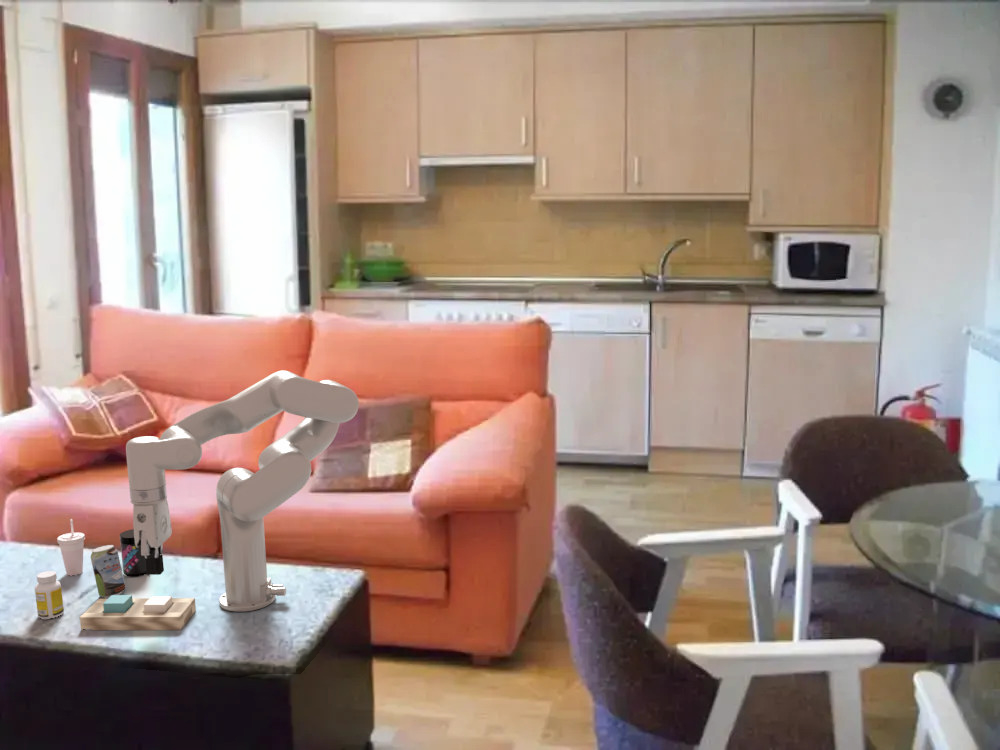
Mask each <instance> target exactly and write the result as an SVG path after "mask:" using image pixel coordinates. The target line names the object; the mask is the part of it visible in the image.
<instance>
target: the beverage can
mask: <svg viewBox="0 0 1000 750" xmlns="http://www.w3.org/2000/svg"><path fill="white" fill-rule="evenodd" d="M90 561H91V566H92V570H93V574H94V579H95V583H96V588H97V593H98V596H100V597H102V598H103V599H108V598H109V597H110V596H111V595H122V594H123V592H124V591H125V590H126V583H125V579H124V573H123V568H122V564H121V560H120V556H119V551H118V549H117V548H116V547H115V546H114V545H113V544H106V545H101V546H98V547H95V548H93V549H92V550H91V555H90Z"/></svg>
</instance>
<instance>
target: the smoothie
mask: <svg viewBox="0 0 1000 750" xmlns="http://www.w3.org/2000/svg"><path fill="white" fill-rule="evenodd" d="M69 521H70V522H69V523H70V531H71V532H67V533H64V534H63V533H62V535H61V534H60V535H59V536H58V537H57V538H56V539H57V544H59V548H60V549H59V550H60V552H61V556H62V557H61V558H62V560H63V565H64V568H65V572H66V575H67V576H68V575H70V576H71V577H73V576H72V575H75V576H78V575H77V574H79V575H81V574H82V573H83V572H84V571H83V570H84V569H83V568H84V545H85V544H84V543H85V542H84V541H85V540H86V535H85V533H83V532H80V531H79V532H75V531H74V520H73V518H71V519H69ZM80 573H81V574H80Z"/></svg>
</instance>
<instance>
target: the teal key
mask: <svg viewBox="0 0 1000 750" xmlns="http://www.w3.org/2000/svg"><path fill="white" fill-rule="evenodd" d="M132 598H133V595H132V594H119V595H111V596H110V597H109V598H106V599H107V600H106V601H105V602H104V603H103V607H104V613H126V612H127V611H128V610H129V609H130V608H131V607H132V605H133V600H132Z"/></svg>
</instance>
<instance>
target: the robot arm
mask: <svg viewBox="0 0 1000 750" xmlns="http://www.w3.org/2000/svg"><path fill="white" fill-rule="evenodd" d="M359 401H360V400H359V398H358V396H357V394H356V392H355V391H354V390H352V389H351V388H350V387H347V386H345V385H343V384H341V383H339V382H337V381H336V380H335V381H334V380H332V379H323V380H320V381H316V380H314V379H313V380H312V379H308V378H306V377H302V376H300V375H298V374H296V373H294V372H292V371H288V370H279V371H278V370H277V371H276V372H273V373H272V374H269V375H268V376H266V377H265V378H263V379H261V380H259V381H258V382H255V383H254V384H252V385H251V386H249V387H247V388H246V389H243V390H242V391H240V392H239V393H237V394H236V395H233V396H231V397H230V398H228V399H226V400H223V401H220V402H217V403H215V404H213V405H210V406H208V407H205V408H202V409H200V410H198V411H196V412H193V413H191V414H190V415H187V416H186V417H184V418H183V419H181V420H180V421H178V422H176V423H174V424H173V425H171V426H169V427H168V428H166V429H165V430H164V432H163V433H162V434H161V435H160V437H157V436H151V435H149V436H148V435H146V436H145V435H144V436H138V437H134V438H132V439H129V440H127V442H126V444H125V452H126V453H125V455H126V464H127V465H126V467H127V476H128V487H129V488H128V490H129V496H130V498H129V499H130V503H131V504H132V506H133V507H132V509H133V511H132V513H133V514H132V517H133V519H132V520H133V521H132V522H133V529H134V539H135V545H136V547H137V548H141V555H142V556H145V558H146V568H147V574H146V575H148V576H150V575H151V576H155V575H156V576H158V575H162V573H164V572H165V569H164V556H163V553H164V549H163V548H164V547H163V546H164V543H165V542H166V541H167V540H169V538H170V537H171V535H172V534H173V530H172V522H171V515H170V514H171V513H170V508H169V504H168V503H169V501H168V493H167V483H166V481H167V480H166V471H167V470H177V471H180V470H181V471H182V470H187V469H191V468H193V467H195V466H196V465H198V464H199V462H200V461H201V460H202V456H203V448H202V446H203V445H204V444H206V443H207V442H210V441H211V440H213V439H217V438H219V437H222V436H226V435H228V436H229V435H238V434H245V433H248V432H250V431H251V430H253V429H255V428H256V427H259V426H260V425H261V424H263V423H265V422H267V421H268V420H270V419H272V418H273V417H275V416H277V415H279V414H280V413H282V412H285V413H287V414H291V415H294V416H299V417H302V418H303V417H304V418H303V419H302V421H301V422H299V423H298V424H297V425H296V426H295V427H294V428H292V429H291V430H289V431H288V432H287V433H285V434H283V435H282V436H281V437H279V438H278V439H276V441H275V440H274V442H273V443H271V444H269V445H268V446H267V447H265V448H264V449H263V450H262V451H261V453H260V454H259V456H258V460H257V461H258V462H257V463H258V468H259V470H258V471H255V473H254V472H253V471H251V470H249V469H248V468H243V467H233V468H230V469H228V470H226V471H225V472H224V473H222V474H221V476H220V477H219V479H218V481H217V484H216V489H215V494H216V503H217V510H218V514H219V520H220V521H219V523H220V532H221V534H220V535H221V545H222V549H221V550H222V558H223V560H222V561H223V572H224V573H223V575H224V587H225V589H224V590H225V593H223V594H222V595H221V596H220V597H219V599H218V600H219V601H218V602H219V606H220V607H221V608H222V609H223V610H226V611H229V612H237V613H239V612H251V611H256V610H259V609H263V608H266V607H268V606H269V605H271V604H272V603H273V602H274V601H275V599H276V596H282V597H283V596H284V597H285V596H286V594H287V588H286V586H285V587H284V583H283V584H282V583H279V584H278V583H277V584H274V583H272V578H271V577H268V570H267V555H266V553H267V552H266V540H265V523H264V517H266V516H267V515H269V514H270V513H271V512H274V510H276V509H277V508H279V507H280V506H281V505H282V504H284V503H285V502H286V501H288V500H289V499H290V498H292V497H294V495H296V494H297V493H299V492H300V491H301V490H302V489H303V488H304V487H305V485H306V484H307V483H308V481H309V480H310V477H311V474H312V463H311V461H313V460H314V459H315V458H317V457H318V456H319V455H320V454H322V453H323V452H324V451H325V450H326V449H328V447H329V446H330V445H331V444H332V442H333V441H334V439H335V438H336V436H337V433H338V431H339V427H340V424H345V423H346V422H349V421H351V420H352V419H353V418H354V417H355V416H356V415H357V413H358V410H359V408H360V402H359Z"/></svg>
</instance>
